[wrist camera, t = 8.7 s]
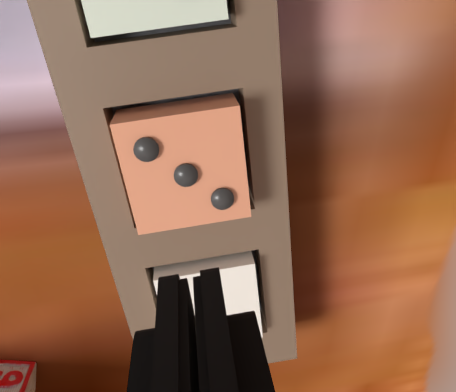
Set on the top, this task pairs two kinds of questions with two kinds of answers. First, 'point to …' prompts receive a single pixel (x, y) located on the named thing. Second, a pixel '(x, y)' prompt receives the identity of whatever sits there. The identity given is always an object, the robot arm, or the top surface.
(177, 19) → the tile two
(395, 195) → the top surface
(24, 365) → the stack of blocks
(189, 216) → the tile three
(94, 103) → the tile panel
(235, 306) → the tile one
